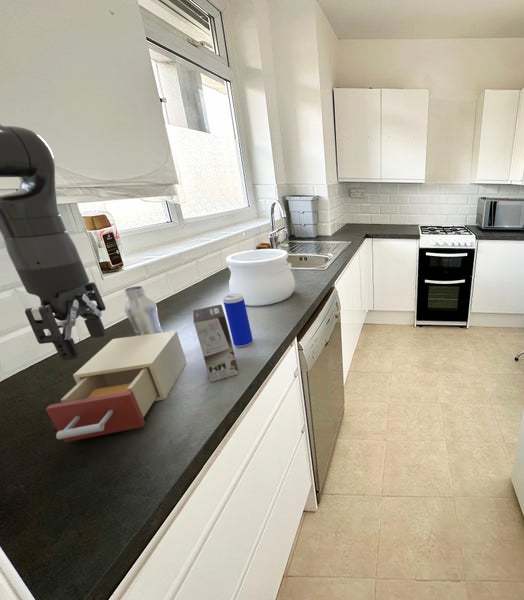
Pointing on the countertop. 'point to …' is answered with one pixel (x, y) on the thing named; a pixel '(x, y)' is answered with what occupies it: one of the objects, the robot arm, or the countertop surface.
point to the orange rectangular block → (109, 390)
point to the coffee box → (215, 342)
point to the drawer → (104, 405)
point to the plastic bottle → (142, 312)
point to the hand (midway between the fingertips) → (86, 346)
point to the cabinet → (140, 359)
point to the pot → (261, 276)
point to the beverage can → (238, 320)
